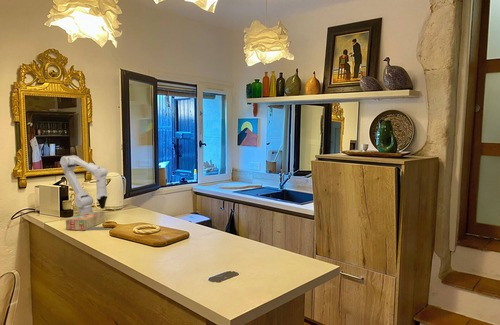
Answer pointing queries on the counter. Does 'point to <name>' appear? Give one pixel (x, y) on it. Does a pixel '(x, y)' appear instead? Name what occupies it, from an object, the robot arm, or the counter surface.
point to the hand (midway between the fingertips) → (102, 208)
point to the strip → (96, 228)
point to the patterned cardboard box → (85, 221)
